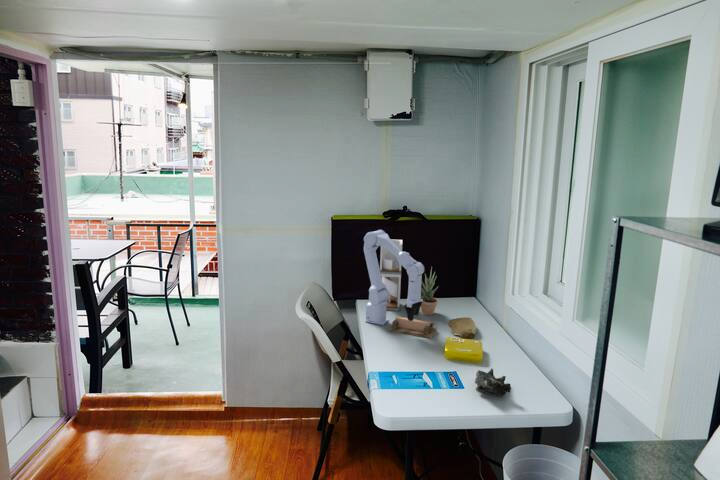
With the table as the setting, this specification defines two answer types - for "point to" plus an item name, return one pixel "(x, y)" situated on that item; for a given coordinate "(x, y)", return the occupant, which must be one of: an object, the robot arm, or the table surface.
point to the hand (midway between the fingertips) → (413, 317)
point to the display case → (391, 275)
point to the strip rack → (426, 333)
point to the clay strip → (412, 323)
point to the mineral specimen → (491, 383)
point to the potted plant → (428, 296)
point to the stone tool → (463, 327)
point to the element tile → (463, 350)
